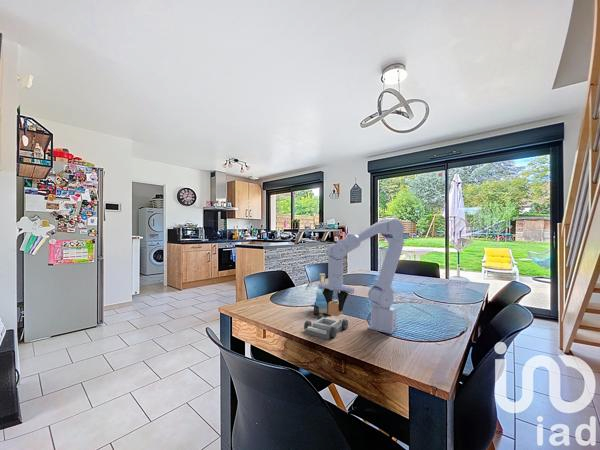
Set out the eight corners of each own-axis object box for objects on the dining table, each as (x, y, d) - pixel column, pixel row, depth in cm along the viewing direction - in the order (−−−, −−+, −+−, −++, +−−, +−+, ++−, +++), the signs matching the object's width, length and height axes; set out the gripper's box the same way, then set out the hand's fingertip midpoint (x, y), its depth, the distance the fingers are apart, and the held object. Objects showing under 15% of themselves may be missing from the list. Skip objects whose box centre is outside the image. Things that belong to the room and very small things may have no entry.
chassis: (349, 326, 105) (349, 317, 106) (330, 340, 92) (330, 330, 92) (322, 320, 113) (322, 312, 113) (302, 332, 99) (302, 322, 99)
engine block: (342, 313, 101) (342, 300, 101) (337, 316, 97) (337, 302, 97) (332, 311, 103) (333, 298, 103) (328, 314, 100) (328, 300, 100)
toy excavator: (331, 306, 134) (331, 273, 134) (332, 316, 118) (332, 279, 118) (314, 305, 135) (315, 272, 135) (313, 316, 118) (313, 278, 119)
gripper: (314, 274, 101) (313, 308, 101) (348, 278, 93) (348, 316, 93) (323, 271, 107) (322, 304, 107) (356, 275, 99) (356, 311, 99)
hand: (335, 309), depth 100 cm, fingers closed on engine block, 4 cm apart
